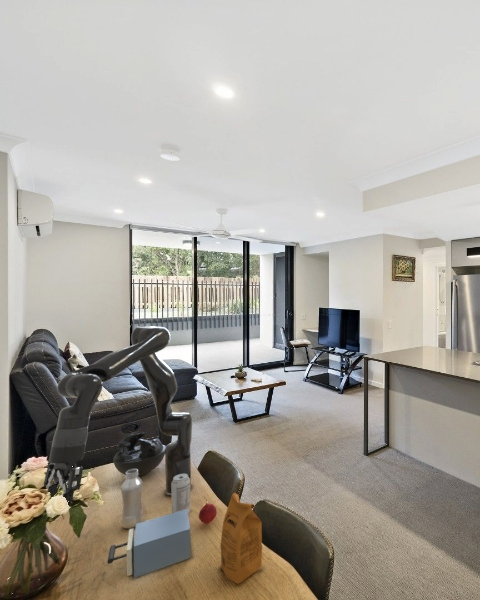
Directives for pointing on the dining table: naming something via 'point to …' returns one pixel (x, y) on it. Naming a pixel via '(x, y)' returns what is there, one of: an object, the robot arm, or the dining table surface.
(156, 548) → the cabinet
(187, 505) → the energy drink can
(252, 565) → the coffee package
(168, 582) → the dining table surface
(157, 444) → the coal bowl
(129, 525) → the plastic bottle
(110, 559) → the drawer
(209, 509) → the onion
